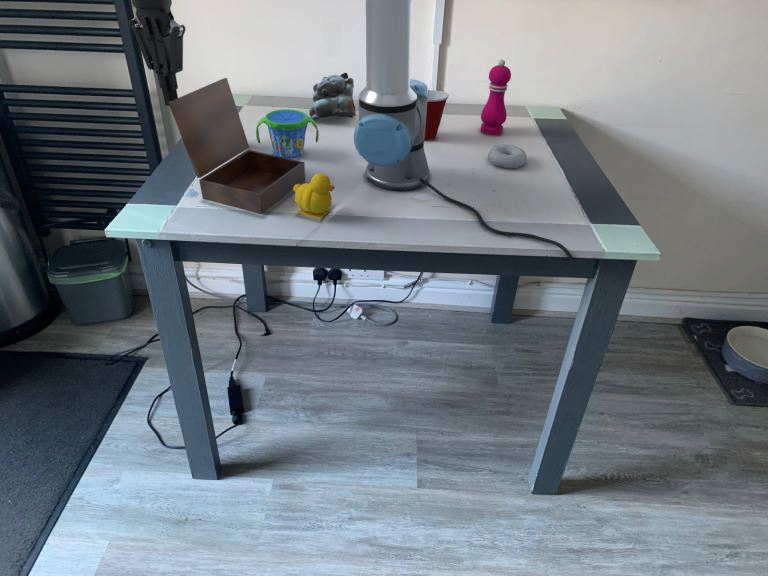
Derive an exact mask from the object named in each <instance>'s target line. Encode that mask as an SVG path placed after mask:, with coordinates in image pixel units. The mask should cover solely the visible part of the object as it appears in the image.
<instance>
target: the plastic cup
mask: <svg viewBox="0 0 768 576" xmlns="http://www.w3.org/2000/svg"><path fill="white" fill-rule="evenodd" d="M449 96H450V94H448V93H447V92H445V91H441V90H435V89H434V90H433V89H428V99H427V111H426V124H425V136H424V141H433V140H435V139H436V137H437V136H438V132H439V127H440V125H441V121H442V118H443V113H444V111H445V110H444V109H445V107H446V103H447V100H448V99H449V98H450V97H449Z"/></svg>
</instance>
